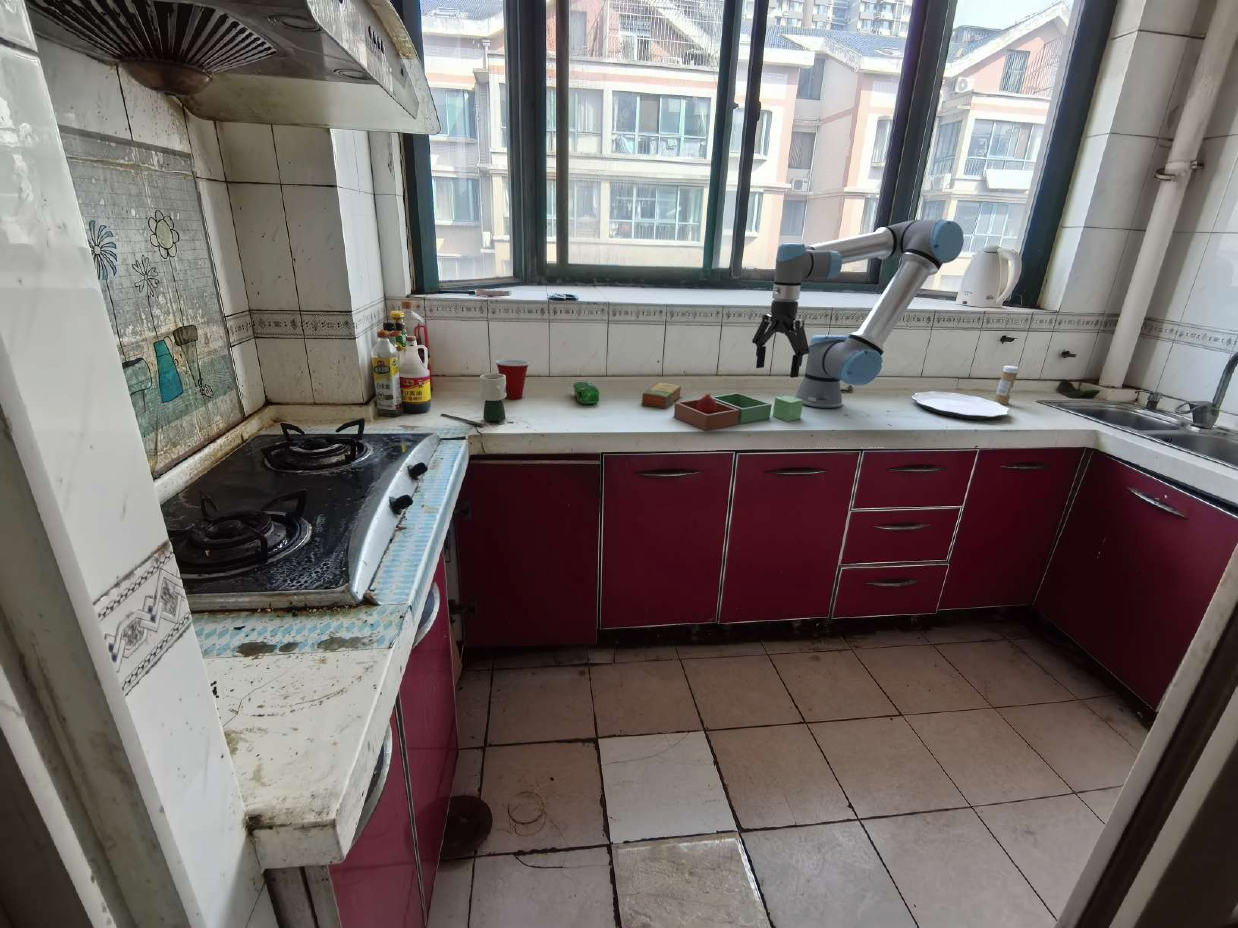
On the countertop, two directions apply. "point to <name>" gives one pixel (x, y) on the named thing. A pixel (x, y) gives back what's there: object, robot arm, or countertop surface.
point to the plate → (960, 405)
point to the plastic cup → (513, 376)
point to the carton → (661, 395)
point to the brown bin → (703, 421)
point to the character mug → (493, 396)
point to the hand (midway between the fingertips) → (776, 372)
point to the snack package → (586, 392)
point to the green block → (787, 408)
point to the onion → (706, 405)
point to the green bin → (746, 407)
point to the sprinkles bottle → (1006, 384)
